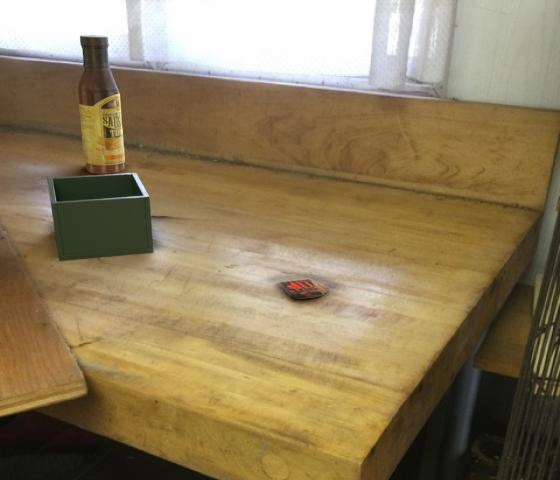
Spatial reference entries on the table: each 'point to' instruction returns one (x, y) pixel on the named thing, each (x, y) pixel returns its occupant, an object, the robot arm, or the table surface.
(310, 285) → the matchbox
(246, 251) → the table surface
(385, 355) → the table surface
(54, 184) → the bin
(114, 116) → the sauce bottle
